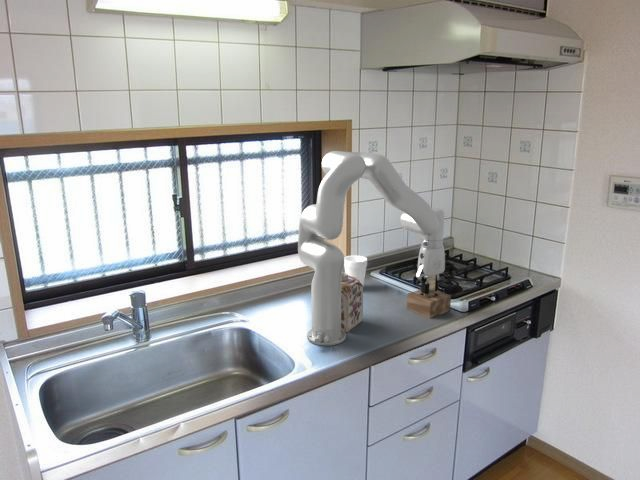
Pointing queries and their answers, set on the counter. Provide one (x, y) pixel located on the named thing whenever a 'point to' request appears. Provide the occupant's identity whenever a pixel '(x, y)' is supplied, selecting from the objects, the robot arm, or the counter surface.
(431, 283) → the beech dowel
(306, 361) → the counter surface
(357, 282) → the decorative jar
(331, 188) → the robot arm
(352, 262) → the foam cup
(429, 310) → the socket block
